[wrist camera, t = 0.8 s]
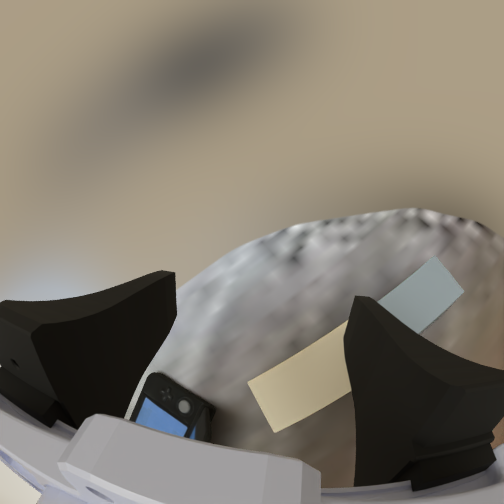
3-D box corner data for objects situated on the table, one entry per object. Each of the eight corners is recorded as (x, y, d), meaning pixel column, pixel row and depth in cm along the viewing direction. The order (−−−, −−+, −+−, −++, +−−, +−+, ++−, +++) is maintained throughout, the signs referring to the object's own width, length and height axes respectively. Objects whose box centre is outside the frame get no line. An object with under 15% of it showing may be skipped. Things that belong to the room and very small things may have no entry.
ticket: (380, 370, 22) (385, 367, 19) (288, 426, 23) (274, 433, 19) (352, 328, 25) (351, 317, 21) (264, 383, 26) (246, 382, 22)
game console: (158, 368, 31) (102, 355, 23) (255, 426, 24) (211, 438, 17) (118, 461, 26) (63, 465, 19) (198, 525, 20) (148, 551, 12)
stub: (445, 311, 22) (464, 291, 17) (382, 363, 23) (388, 356, 18) (422, 281, 25) (434, 254, 20) (359, 329, 25) (359, 314, 20)
